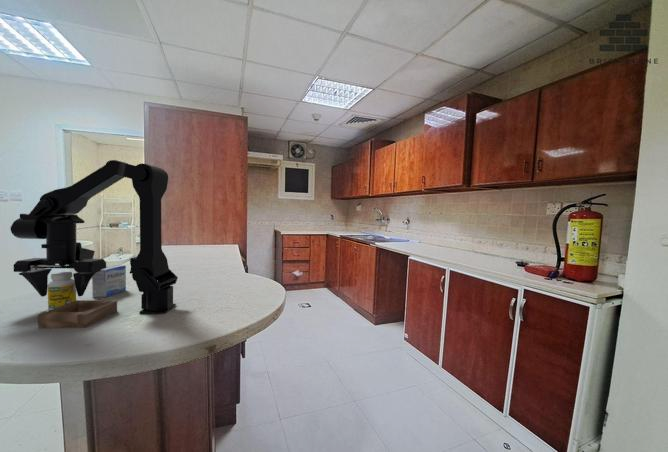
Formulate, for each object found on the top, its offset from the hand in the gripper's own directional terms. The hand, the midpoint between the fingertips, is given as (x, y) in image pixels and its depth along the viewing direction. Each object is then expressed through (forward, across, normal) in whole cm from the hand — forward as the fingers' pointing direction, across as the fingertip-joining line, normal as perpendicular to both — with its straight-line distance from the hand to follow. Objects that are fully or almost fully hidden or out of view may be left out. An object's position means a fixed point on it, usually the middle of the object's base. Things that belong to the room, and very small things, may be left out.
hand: (62, 296), depth 71 cm
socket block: (+3, -11, +8) cm, 14 cm away
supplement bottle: (+4, 0, 0) cm, 4 cm away
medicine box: (+4, -3, -13) cm, 14 cm away
